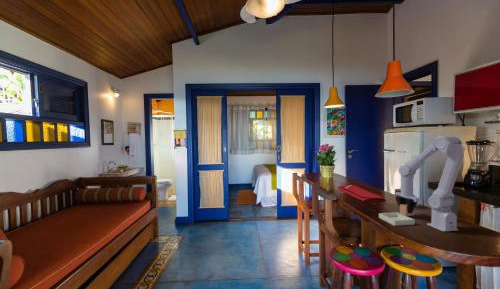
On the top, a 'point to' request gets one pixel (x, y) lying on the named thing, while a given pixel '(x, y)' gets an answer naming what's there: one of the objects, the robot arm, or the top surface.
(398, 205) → the mug
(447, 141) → the robot arm
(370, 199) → the dish drying mat
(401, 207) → the block
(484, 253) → the top surface
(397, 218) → the tray
